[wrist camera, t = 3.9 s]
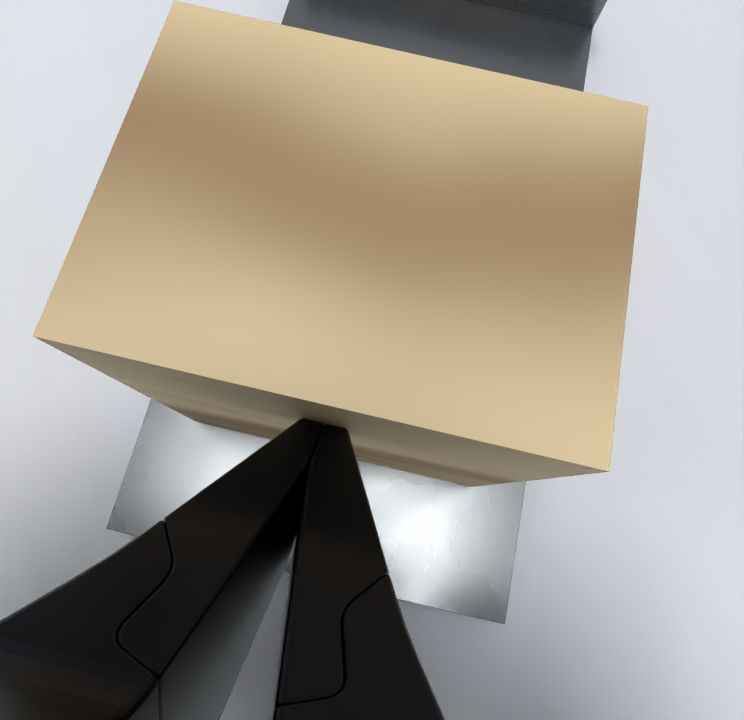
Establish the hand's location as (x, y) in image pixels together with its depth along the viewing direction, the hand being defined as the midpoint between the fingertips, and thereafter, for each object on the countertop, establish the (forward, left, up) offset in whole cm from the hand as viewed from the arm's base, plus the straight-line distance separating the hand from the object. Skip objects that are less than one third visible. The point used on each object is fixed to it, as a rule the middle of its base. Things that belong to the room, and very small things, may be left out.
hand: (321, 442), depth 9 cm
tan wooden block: (+3, 0, -6) cm, 7 cm away
